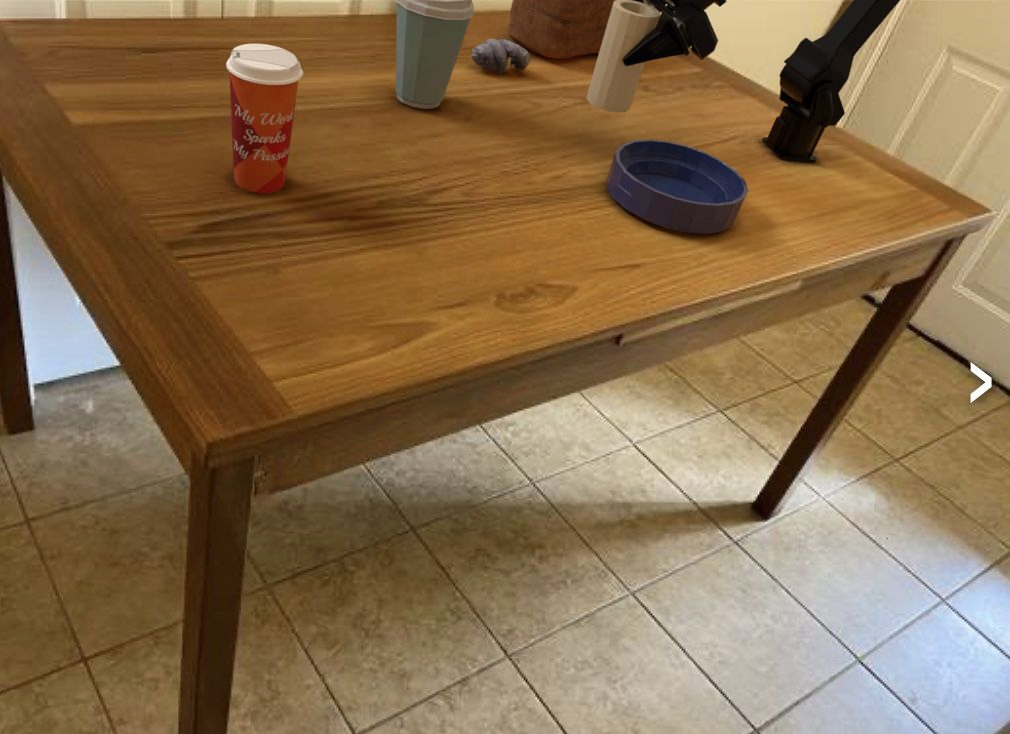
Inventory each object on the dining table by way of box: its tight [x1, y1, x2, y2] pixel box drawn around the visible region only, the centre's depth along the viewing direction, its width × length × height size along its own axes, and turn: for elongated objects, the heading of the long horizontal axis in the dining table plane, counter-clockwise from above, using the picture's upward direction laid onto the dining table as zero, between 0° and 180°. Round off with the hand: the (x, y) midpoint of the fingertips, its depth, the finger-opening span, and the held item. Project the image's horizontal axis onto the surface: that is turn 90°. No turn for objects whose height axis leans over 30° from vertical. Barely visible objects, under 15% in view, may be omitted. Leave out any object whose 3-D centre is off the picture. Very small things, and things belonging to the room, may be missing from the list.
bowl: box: [606, 138, 749, 235], centre depth 112 cm, size 17×17×4 cm
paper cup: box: [225, 43, 304, 194], centre depth 94 cm, size 8×8×14 cm
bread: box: [507, 0, 616, 60], centre depth 150 cm, size 14×28×12 cm, turn 135°
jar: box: [586, 0, 661, 113], centre depth 116 cm, size 6×6×12 cm
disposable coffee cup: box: [394, 0, 475, 110], centre depth 119 cm, size 11×11×15 cm
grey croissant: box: [470, 38, 532, 75], centre depth 136 cm, size 5×5×10 cm
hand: (613, 53), depth 115 cm, fingers closed on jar, 6 cm apart
